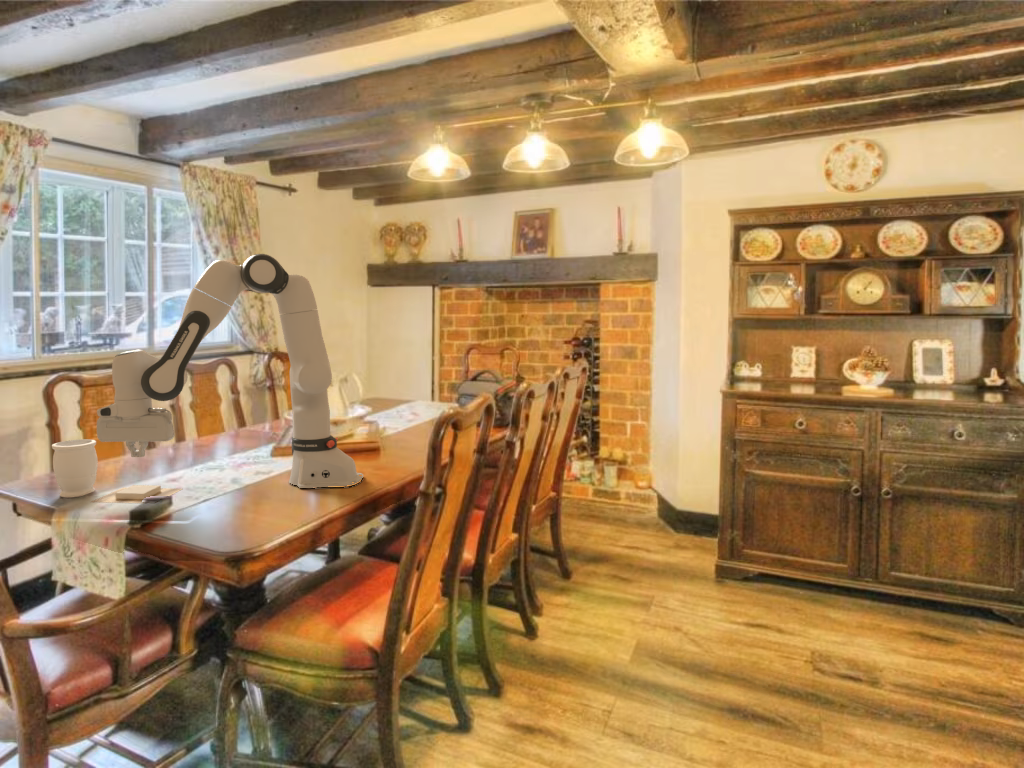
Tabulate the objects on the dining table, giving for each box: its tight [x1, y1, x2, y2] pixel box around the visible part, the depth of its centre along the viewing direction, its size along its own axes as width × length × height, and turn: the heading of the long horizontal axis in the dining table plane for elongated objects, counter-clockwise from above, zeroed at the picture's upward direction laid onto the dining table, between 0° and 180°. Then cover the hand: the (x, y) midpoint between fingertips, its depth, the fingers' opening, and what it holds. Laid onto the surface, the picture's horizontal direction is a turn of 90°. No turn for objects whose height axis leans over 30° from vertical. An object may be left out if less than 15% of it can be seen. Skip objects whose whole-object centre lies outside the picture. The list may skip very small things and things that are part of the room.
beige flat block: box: [115, 484, 162, 499], centre depth 176 cm, size 2×8×8 cm
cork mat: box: [90, 487, 183, 504], centre depth 176 cm, size 18×14×1 cm
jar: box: [51, 438, 99, 499], centre depth 178 cm, size 11×10×15 cm
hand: (138, 456), depth 175 cm, fingers closed
